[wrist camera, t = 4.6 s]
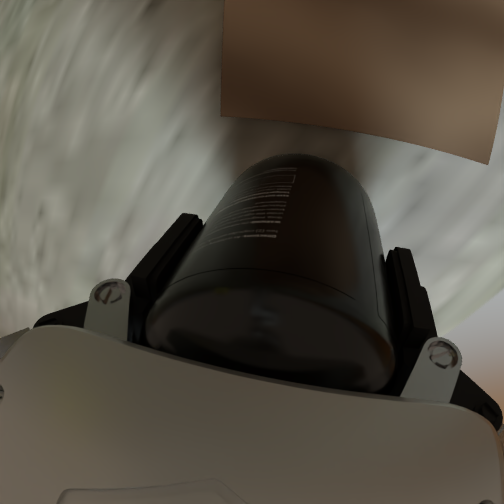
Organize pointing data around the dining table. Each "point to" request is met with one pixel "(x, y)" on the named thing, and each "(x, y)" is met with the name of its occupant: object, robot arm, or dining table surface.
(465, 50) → the walnut board
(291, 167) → the supplement bottle
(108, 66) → the dining table surface
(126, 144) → the dining table surface
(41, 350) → the robot arm
